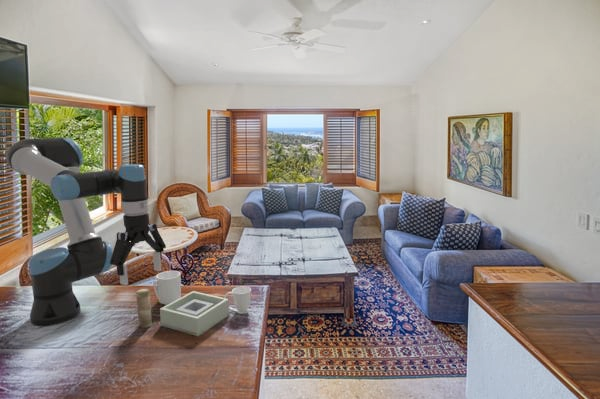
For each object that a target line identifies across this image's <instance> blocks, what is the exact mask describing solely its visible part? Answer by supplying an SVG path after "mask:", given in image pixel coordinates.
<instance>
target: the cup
mask: <svg viewBox="0 0 600 399" xmlns="http://www.w3.org/2000/svg"><path fill="white" fill-rule="evenodd" d="M251 288H252V287H250V286H244V285H243V286H236V287H234V288H233V289H231V291H228V292H226V294H224V297H223V298H226V297H227V295H232V297H233V301H234V306H235V308H233V307H231V306H230V305H229V310H231V311H234V312H236V314H239V315H244V314H247V313H248V312H249V308H250V305H251V297H252V289H251ZM226 299H227V298H226Z"/></svg>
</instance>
